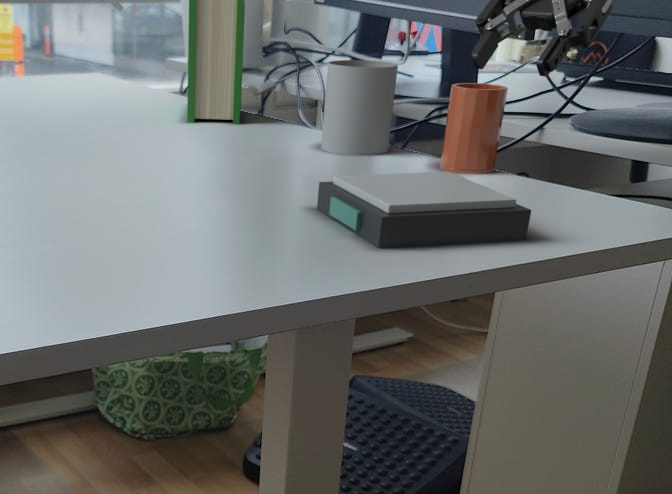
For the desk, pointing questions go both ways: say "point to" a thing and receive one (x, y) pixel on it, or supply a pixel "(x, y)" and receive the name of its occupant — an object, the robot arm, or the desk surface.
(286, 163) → the desk surface
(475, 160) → the tumbler
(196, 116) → the hardback book
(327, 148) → the cup
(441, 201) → the scale
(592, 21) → the robot arm
